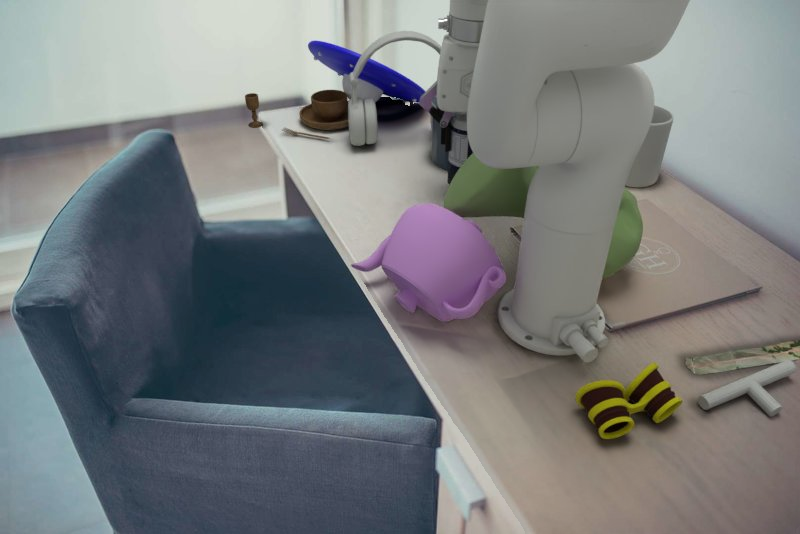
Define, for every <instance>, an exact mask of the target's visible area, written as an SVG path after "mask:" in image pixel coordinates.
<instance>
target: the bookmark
mask: <svg viewBox="0 0 800 534" xmlns="http://www.w3.org/2000/svg"><path fill="white" fill-rule="evenodd" d="M684 360H685V362H684V364H685V366H686V368H687V369H688V370H690V371H691V372H692V374H694V375H695V374H696V375H699V376H700V375H707V374H716V373H723V372H728V371H729V372H730V371H736V370H737V369H740V370H741V369H745V368H746V369H747V368H751V367H758V366H766V365H772V364H779V363H781V362H783V361H786V360H791V361H792V362H794V361H797V360H800V340H792V341H784V342H780V343H777V344H773V345H772V344H771V345H767V346H760V347H752V348H743V349H735V350H729V351H723V352H720V353H713V354H706V355H699V356H693V357H686V358H685V357H684Z"/></svg>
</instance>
